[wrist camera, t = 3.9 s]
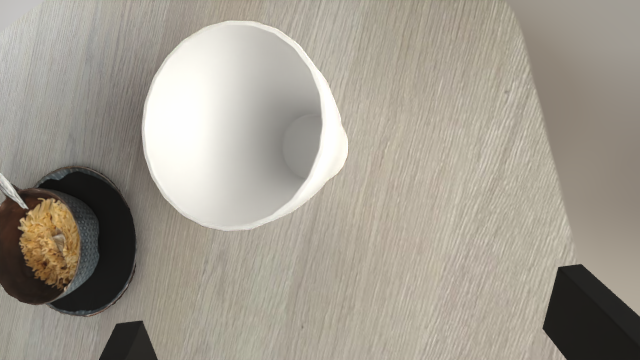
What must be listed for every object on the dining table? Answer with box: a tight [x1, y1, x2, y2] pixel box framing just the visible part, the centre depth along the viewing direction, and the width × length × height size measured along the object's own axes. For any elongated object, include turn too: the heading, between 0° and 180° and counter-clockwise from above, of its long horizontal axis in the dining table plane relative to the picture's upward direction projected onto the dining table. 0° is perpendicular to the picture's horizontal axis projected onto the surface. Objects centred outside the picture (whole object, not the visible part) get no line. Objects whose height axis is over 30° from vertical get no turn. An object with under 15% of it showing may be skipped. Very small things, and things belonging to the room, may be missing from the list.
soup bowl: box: [0, 166, 137, 317], centre depth 36 cm, size 15×16×7 cm
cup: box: [142, 20, 348, 232], centre depth 25 cm, size 10×10×14 cm
